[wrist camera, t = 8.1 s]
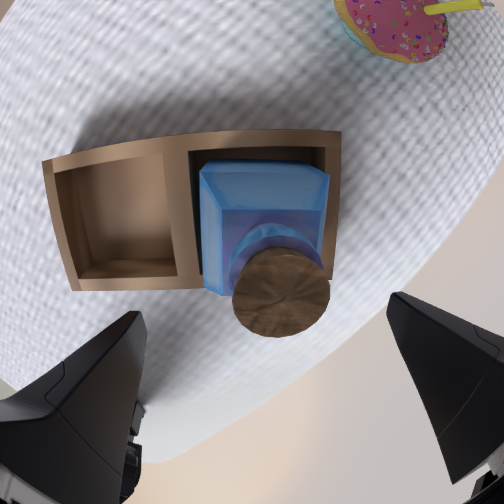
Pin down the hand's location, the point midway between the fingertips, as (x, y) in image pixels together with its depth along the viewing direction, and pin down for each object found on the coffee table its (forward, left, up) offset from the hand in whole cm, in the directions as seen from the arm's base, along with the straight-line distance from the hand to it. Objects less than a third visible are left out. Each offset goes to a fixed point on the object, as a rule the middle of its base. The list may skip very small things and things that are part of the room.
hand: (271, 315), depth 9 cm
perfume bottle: (0, +1, -12) cm, 12 cm away
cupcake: (+10, +15, -13) cm, 22 cm away
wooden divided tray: (-4, +1, -13) cm, 14 cm away
